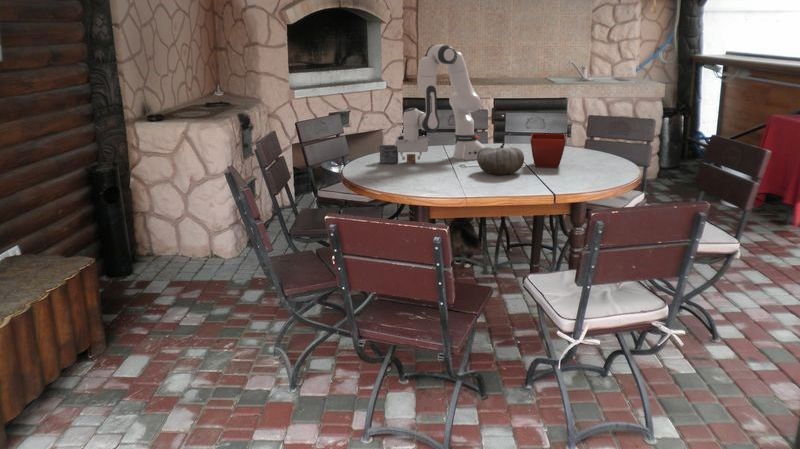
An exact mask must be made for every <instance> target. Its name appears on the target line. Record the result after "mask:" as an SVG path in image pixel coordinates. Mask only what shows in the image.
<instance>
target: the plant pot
mask: <svg viewBox="0 0 800 449" xmlns="http://www.w3.org/2000/svg"><path fill="white" fill-rule="evenodd" d="M566 140H567V139H566V134H565V133H533V132H532V133H531V134H530V145H531V146H530V148H531V153H532V154H531V155H532V160H533V164H534V167H535V168H551V169H553V168H556V169H557V168H559V167H560V165H561V161H562V159H563V155H564V150H565V146H566Z"/></svg>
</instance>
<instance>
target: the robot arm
mask: <svg viewBox="0 0 800 449" xmlns="http://www.w3.org/2000/svg"><path fill="white" fill-rule="evenodd" d="M464 58H465V57H464V56H463V54H462V52H460V51H457V50H455V48H454V47H452V46H451V45H448V44H444V43H443V44H441V43H440V44H433V45H430V46H429V47H428V48H427V49H426V53H425V55H424V56H423V57H421V58H420V59H419V63H418V68H417V77H416V78H417V79H416V80H417V88H418V89H419V91H420V92H421V93H422V95H423V96H424V99H425V112H423V111H421V110H419V109H418V108H416V107H409V108H407V109H405V110H404V111H403V115H402V116H403V118H402V123H403V130H402V132H403V133H399V134H398V135H396V136H395V141H394V144H393V145H394V146H397V152H398V153H400V156H401V157H402V158H401V160H402V161H403V160H404V161H405V160H406V158H405V156H404V155H403V154H404V153H419V155H417V156H416V157H417V160H421V156H422V154H423V153H427V152H428V151H429V145H428V144H429V141H430V139H429V137H428V136H426V135H419V130H422V131H425V132H426V133H430V134H432V133H435V132H436V131H437V130H438V129H439V127H440V119H439V116H438V107H437V106H438V100H437V99H438V97H437V70H438V67H439V65H446V68H447V72H448V77H449V80H450V85H451V86H452V88H453V89H454V91H455V92H454V93H452V94H451V95H450V97H449V99H448V100H449V102H448V104H449V106H450V107H451V110H452V112H453V116H454V122H455V134H454V151H453V156H452V158H453V159H456V160H457V159H458V160H462V161H463V160H464V161H469V160H470V161H471V160H477V155H478V151H479V150H480V149H481V148H484V147H486V146H485V145H484V144H482V143H481V142H480V141H478V139H479V136H478V135H477V134H475V120H474V119H473V117H472V114H471V113H474V112H478V110H480V108H481V107H482V98H480V96H478V94H477V92H476V91H475V89H474V87H473V85H472V83H471V81H470V77H469V76H470V75H469V73H468V72H469V71H468V68H467V65H466V64H467V63H466V60H465V59H464Z"/></svg>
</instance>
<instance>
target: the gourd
mask: <svg viewBox="0 0 800 449" xmlns="http://www.w3.org/2000/svg"><path fill="white" fill-rule="evenodd" d="M505 144H506V143H505V142H502V144H501V145H500V146H499V147H490V146H485V147H484V148H481V149H480V150H479V151H478V155H477V159H476V161H477V164H478V166H479V168H480V169H481V171H483V172H485V173H489V174H495V175H496V176H505V175H509V174H514V173H516V172H518V171H519V170H520V169H521V168H522V167H523V166H524V164H525V155H524V153H523V151H522V149H520V148H518V147H516V146H515V147H514V146H513V147H504V146H505Z"/></svg>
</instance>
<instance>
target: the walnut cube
mask: <svg viewBox="0 0 800 449" xmlns="http://www.w3.org/2000/svg"><path fill="white" fill-rule="evenodd" d="M416 162H417V161H416V153H406V164H408V165H410V164H416Z"/></svg>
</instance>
